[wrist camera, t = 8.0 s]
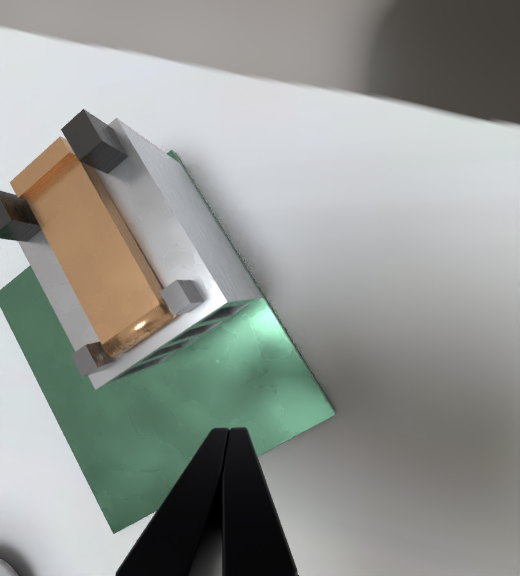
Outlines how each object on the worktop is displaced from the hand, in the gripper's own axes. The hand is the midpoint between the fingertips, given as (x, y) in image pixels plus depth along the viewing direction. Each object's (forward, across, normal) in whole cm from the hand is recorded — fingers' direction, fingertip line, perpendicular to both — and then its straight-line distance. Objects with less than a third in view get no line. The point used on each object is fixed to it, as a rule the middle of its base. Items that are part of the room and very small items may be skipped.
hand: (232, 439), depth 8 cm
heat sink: (+11, +7, +5) cm, 14 cm away
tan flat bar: (+8, +6, -2) cm, 10 cm away
